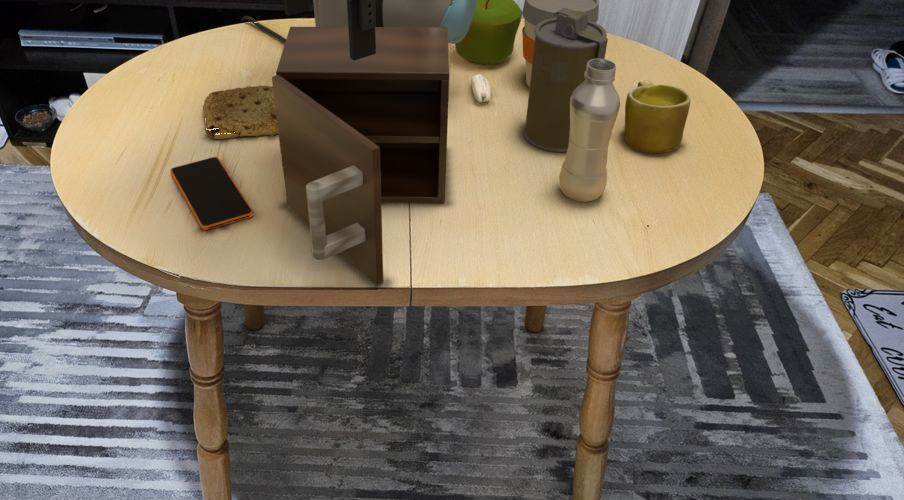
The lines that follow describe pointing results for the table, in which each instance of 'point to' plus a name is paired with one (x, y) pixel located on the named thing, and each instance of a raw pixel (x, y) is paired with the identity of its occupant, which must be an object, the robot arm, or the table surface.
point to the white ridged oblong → (481, 88)
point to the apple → (491, 32)
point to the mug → (655, 117)
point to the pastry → (241, 112)
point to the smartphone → (211, 193)
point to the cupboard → (383, 99)
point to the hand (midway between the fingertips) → (328, 33)
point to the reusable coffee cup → (540, 8)
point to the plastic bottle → (590, 132)
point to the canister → (559, 74)
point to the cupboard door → (331, 180)
